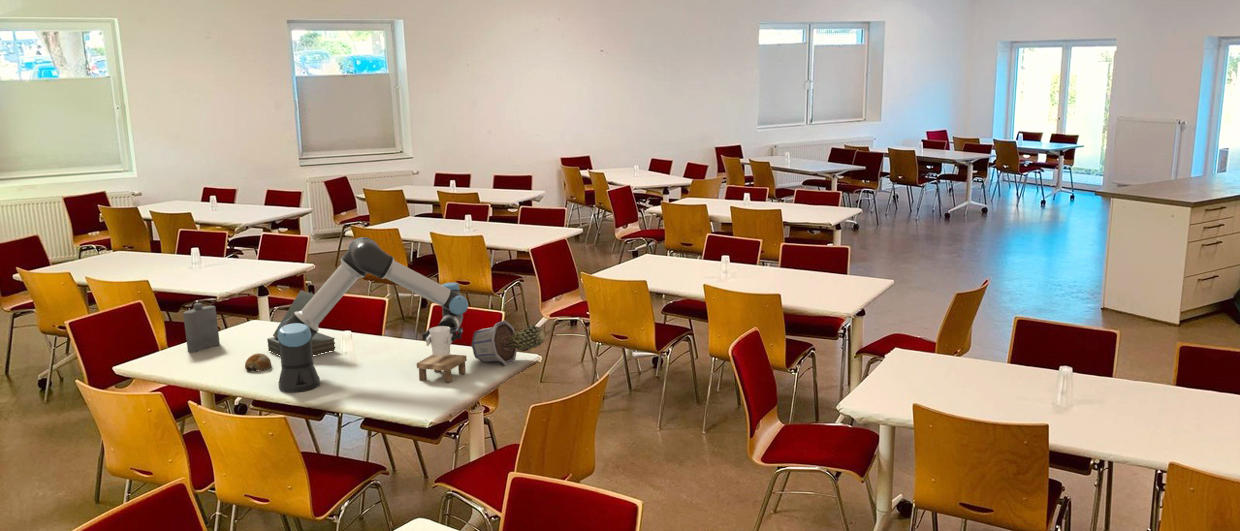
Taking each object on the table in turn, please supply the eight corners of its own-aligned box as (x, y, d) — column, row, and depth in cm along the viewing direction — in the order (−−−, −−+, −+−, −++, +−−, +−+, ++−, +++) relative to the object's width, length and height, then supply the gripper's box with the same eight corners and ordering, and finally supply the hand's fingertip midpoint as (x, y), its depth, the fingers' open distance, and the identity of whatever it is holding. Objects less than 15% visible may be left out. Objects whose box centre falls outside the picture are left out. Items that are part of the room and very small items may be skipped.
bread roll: (272, 377, 393) (278, 358, 394) (250, 372, 386) (256, 353, 387) (261, 372, 400) (267, 354, 401) (238, 367, 392) (244, 348, 393)
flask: (213, 342, 434) (208, 299, 430) (222, 344, 431) (217, 300, 427) (184, 351, 422) (178, 306, 418) (192, 352, 419) (187, 308, 415)
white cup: (455, 352, 375) (454, 327, 373) (442, 357, 368) (440, 332, 366) (440, 349, 379) (439, 325, 377) (426, 354, 373) (425, 330, 371)
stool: (417, 380, 372) (416, 363, 370) (436, 369, 384) (435, 353, 383) (449, 383, 367) (448, 366, 365) (467, 372, 380) (466, 355, 378)
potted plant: (462, 331, 386) (527, 318, 374) (484, 322, 402) (547, 309, 391) (473, 373, 387) (538, 361, 375) (494, 362, 403) (557, 351, 392)
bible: (268, 352, 417) (262, 296, 412) (310, 342, 431) (305, 288, 426) (293, 362, 401) (287, 304, 396) (336, 352, 415) (330, 295, 410)
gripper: (474, 334, 391) (465, 350, 369) (423, 336, 391) (412, 352, 369) (472, 316, 389) (464, 331, 367) (422, 318, 389) (410, 333, 367)
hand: (438, 342), depth 368 cm, fingers closed on white cup, 8 cm apart
